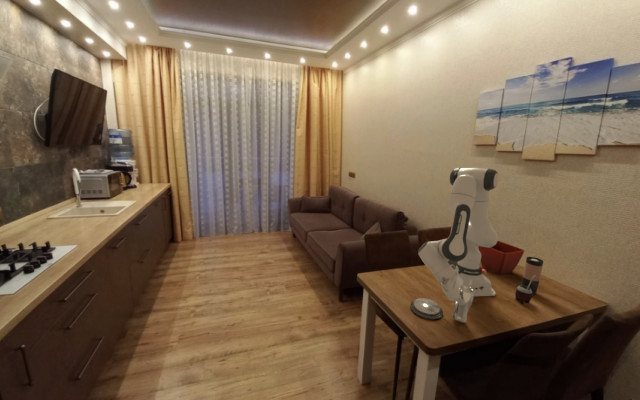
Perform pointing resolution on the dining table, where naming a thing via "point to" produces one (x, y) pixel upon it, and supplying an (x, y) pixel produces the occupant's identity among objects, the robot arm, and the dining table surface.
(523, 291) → the mate gourd
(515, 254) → the plant pot
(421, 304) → the disc
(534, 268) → the travel mug
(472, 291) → the beer glass
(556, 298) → the dining table surface
